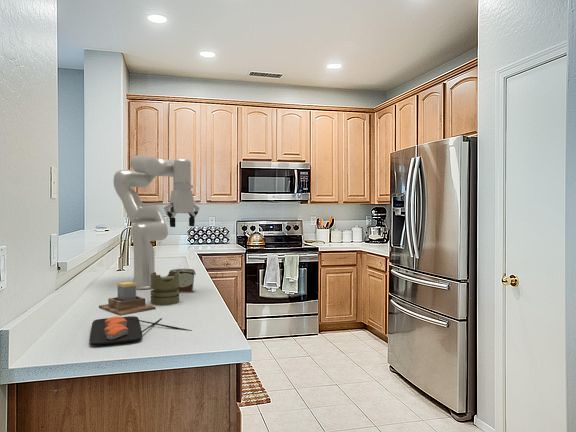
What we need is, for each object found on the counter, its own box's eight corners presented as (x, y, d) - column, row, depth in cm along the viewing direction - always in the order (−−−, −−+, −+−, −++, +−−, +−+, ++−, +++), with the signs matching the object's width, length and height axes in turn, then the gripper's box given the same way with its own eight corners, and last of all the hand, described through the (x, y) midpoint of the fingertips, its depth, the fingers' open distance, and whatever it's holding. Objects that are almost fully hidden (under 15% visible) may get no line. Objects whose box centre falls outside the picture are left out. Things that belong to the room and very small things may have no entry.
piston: (182, 274, 183) (153, 276, 178) (182, 303, 183) (153, 306, 178) (175, 270, 193) (148, 272, 188) (175, 298, 193) (148, 301, 188)
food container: (199, 290, 212) (199, 268, 212) (195, 292, 206) (195, 270, 206) (173, 289, 214) (173, 268, 213) (169, 292, 207) (168, 270, 207)
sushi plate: (92, 324, 153) (92, 313, 153) (183, 316, 164) (183, 306, 164) (88, 350, 126) (88, 337, 126) (197, 339, 137) (197, 326, 137)
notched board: (98, 307, 176) (98, 297, 176) (132, 302, 186) (132, 292, 186) (120, 315, 164) (120, 304, 164) (155, 308, 174) (155, 299, 174)
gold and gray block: (117, 306, 175) (117, 283, 175) (129, 304, 178) (129, 281, 178) (123, 308, 171) (123, 284, 171) (136, 306, 175) (135, 282, 175)
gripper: (193, 188, 208) (194, 225, 208) (159, 187, 195) (160, 227, 196) (203, 187, 202) (203, 226, 203) (169, 186, 190) (169, 227, 190)
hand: (182, 226), depth 199 cm, fingers open, 9 cm apart
